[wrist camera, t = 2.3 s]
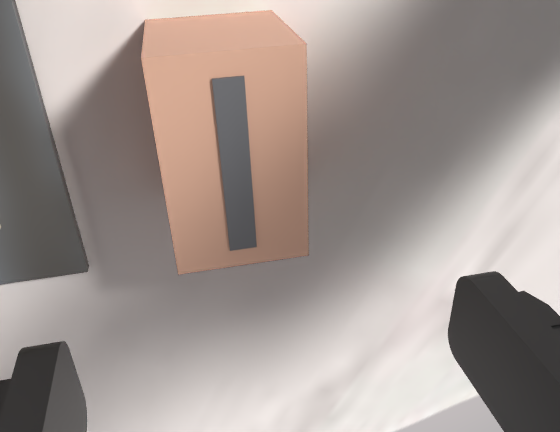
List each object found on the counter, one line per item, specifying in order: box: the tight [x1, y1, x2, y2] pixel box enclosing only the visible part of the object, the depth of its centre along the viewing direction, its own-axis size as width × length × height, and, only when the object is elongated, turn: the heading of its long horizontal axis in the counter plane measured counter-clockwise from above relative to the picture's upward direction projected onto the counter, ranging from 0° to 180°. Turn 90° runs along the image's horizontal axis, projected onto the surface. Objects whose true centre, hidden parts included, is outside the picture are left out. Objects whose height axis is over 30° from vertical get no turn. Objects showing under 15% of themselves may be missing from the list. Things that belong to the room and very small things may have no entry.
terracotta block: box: [141, 10, 309, 275], centre depth 20 cm, size 5×8×6 cm, turn 2°
